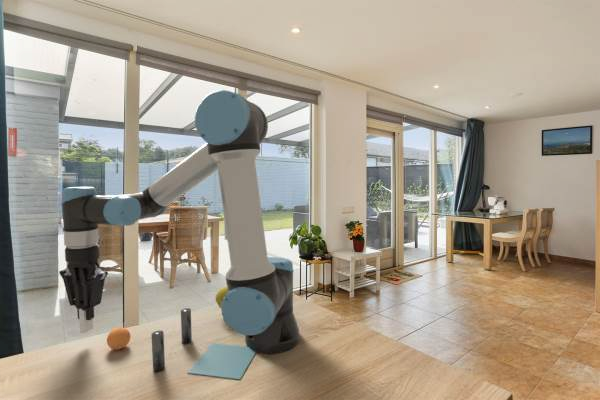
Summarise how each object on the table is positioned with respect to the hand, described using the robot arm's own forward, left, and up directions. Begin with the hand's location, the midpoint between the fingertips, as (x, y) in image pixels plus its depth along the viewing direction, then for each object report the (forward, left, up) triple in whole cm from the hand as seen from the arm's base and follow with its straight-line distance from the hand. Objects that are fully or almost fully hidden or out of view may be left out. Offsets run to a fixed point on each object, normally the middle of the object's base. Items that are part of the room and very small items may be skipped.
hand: (86, 330), depth 87 cm
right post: (-26, -6, -4) cm, 27 cm away
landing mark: (-40, 0, -4) cm, 40 cm away
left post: (-26, +6, -4) cm, 27 cm away
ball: (-10, 0, -1) cm, 10 cm away
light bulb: (-31, -22, -4) cm, 38 cm away
